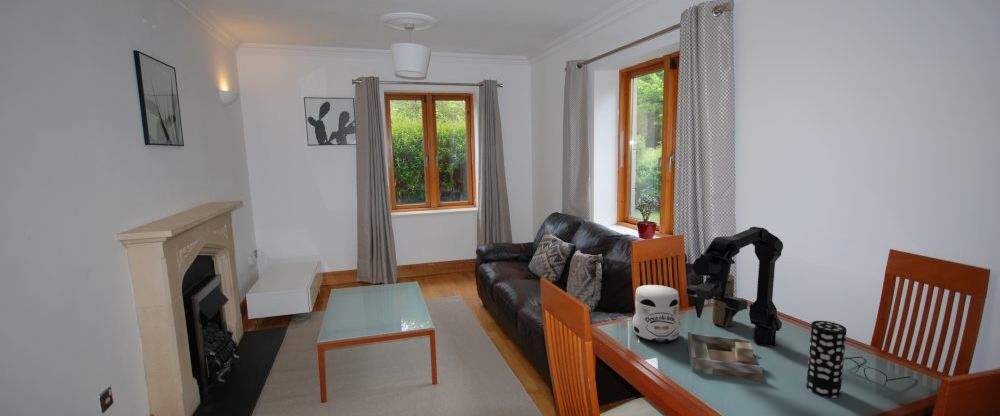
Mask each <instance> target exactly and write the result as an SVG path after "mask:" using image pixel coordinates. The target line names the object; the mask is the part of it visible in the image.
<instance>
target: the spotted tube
mask: <svg viewBox="0 0 1000 416" xmlns="http://www.w3.org/2000/svg"><path fill="white" fill-rule="evenodd" d="M810 326H811V327H810V337H809V338H810V339H809V348H808V361H807V373H806V383H805V384H806V385H805V386H806V390H809V391H810V392H811V393H813V394H815V395H818V396H820V397H824V398H830V399H831V398H832V399H834V398H839V397H840V396H841V391H842V383H843V373H844V372H843V370H844V362H845V361H844V358H845V350H846V341H847V339H846V338H847V327H846V326H844V325H842V324H839V323H836V322H834V321H833V322H832V321H827V320H814V321H812V322H811V324H810Z"/></svg>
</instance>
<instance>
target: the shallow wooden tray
mask: <svg viewBox="0 0 1000 416" xmlns="http://www.w3.org/2000/svg"><path fill="white" fill-rule="evenodd" d="M735 342H741V343H750V342H751V341H750V339H744V338H735V337H724V336H717V335H705V334H697V333H692V332H690V331H689V332H687V349H688V356H689V362H690V367H691V368H690V369H691V372H693V373H701V374H708V375H717V376H723V377H725V376H726V377H731V378H732V377H733V378H739V379H746V380H756V381H762V380H763V379H762V378H763V366H762V365H758V362H757V360H756V358H755V357H754V355H753V359H752V362H745V361H737V359H736V357H735ZM750 344H751V343H750Z"/></svg>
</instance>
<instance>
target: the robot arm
mask: <svg viewBox="0 0 1000 416" xmlns="http://www.w3.org/2000/svg"><path fill="white" fill-rule="evenodd" d="M749 245H753V247H754V254H755V256H756V258H757V260H758V270H757V271H758V274H757V285H756V286H757V288H756V289H757V291H756V300H755V301H754V302H752V303H750V305H749V304H748V302H747V300H746V299H743V298H739V297H728V298H727V297H726V296H728V293H726V291H727V285H728V284H730V281H728V279H729V274H731V268H732V265H734V264H736V261H735V260H734V259H733V258H734V257H735V256H737V255H738V254H739V253H740V251H741V249H742V248H745V247H747V246H749ZM783 249H784V243H783V241H782V240H781V239H780V238H779V237H778V236H776V235H774V234H773V233H771V232H769V231H768V229H766V228H764V227H759V226H751V227H749V229H746V230H744V231H740V232H737V233H736V234H732V235H729V236H717V237H714V238H713V239H712V240H711V241H710V243H709V245H708V246H707V248H706V250H705V251H704V252H703V253H701V254H700V257H697V258H696V259H695V260H694V262H693V264H692V268H693V271H694V273H695V274H697V276H701V277H702V276H703V277H705V276H706V278H705V281H704V282H702V283H700V284H698V285H691V284H690V285H688V286H687V287H686V288H685V294H687V295H688V297H690V298H691V299H692V301H693V304H694V307H695V313H696V317H697V319H700V318H701V316H702V314H703V311H704V307H705V303H706V300H708V301H710V300H713V299H715V300H718V301H721V302H724V303H726V305H727V307H724V308H725V316H724V321H723V326H722V327H723V328H727V327H728V326H727V325H728V323H729V322H730V321H731V319H732V318H734V317H735V316H736V315H737V314H738V313H739V312H741V311H743V310H748V306H749V312H748V317H749V321H750V324H751V325H754V327H753V328H752V340H753V341H754V342H755V344H756V345H758V346H765V347H766V346H768V347H777V344H776V341H777V340H776V339H777V338H776V337H777V332H780V330H781V328H782V325H783V322H782V321H781V320H780V318H779V317H778V309H777V307H776V305H775V303H774V302H773V296H774V284H775V283H774V281H775V271H776V270H775V269H776V262H777V261H778V259H780V257H781V256H782V251H783ZM720 298H721V299H720Z"/></svg>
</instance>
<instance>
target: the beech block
mask: <svg viewBox="0 0 1000 416" xmlns="http://www.w3.org/2000/svg"><path fill="white" fill-rule="evenodd" d="M753 356H754V349H753V345H752V344H751V343H741V342H735V357H736V359H737V361H745V362H752V359H753Z"/></svg>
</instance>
